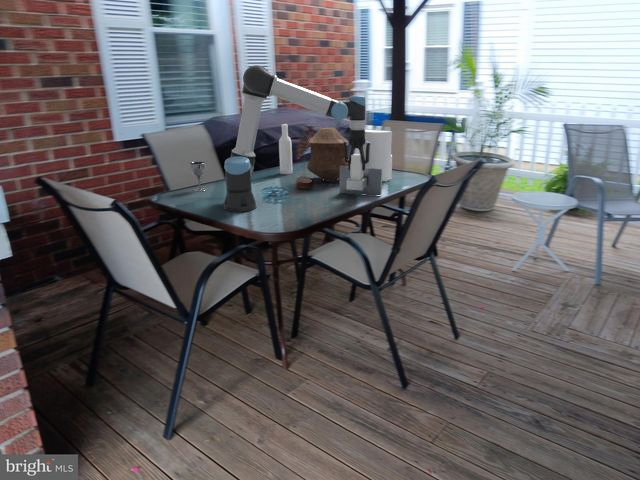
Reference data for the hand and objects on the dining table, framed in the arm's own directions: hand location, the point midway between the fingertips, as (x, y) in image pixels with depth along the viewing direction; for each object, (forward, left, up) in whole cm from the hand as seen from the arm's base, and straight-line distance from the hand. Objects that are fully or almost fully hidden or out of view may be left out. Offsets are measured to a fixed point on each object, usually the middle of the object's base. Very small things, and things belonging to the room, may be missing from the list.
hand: (356, 176), depth 241 cm
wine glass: (-10, +86, -11) cm, 87 cm away
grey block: (+2, 0, -11) cm, 11 cm away
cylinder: (+46, +1, -11) cm, 47 cm away
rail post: (0, 0, -3) cm, 3 cm away
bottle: (+45, +59, -11) cm, 75 cm away
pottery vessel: (+35, +27, -11) cm, 46 cm away
